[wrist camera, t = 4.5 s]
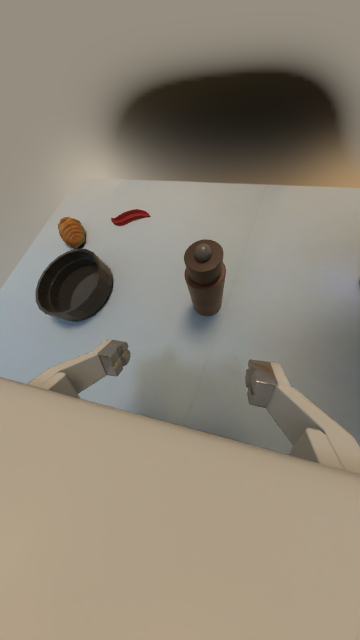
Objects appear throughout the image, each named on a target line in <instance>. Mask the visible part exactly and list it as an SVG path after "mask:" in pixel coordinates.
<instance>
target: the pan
mask: <svg viewBox="0 0 360 640" xmlns="http://www.w3.org/2000/svg"><path fill="white" fill-rule="evenodd" d="M111 288H112V274H111V271H110V269H109V268H108V266H107V265H106V264H105V263H104V262H103V261H102V260H101V259H100V258H99V257H98V256H96V255H95V254H94V253H93V252H91V251H89V250H87V249H75V250H71V251H68V252H66V253H64V254H62V255H60V256H59V257H57V258H56V259H55V260H54V261H53V262H51V263H50V264H49V266H48V267H47V268H46V269H45V271H44V272H43V274H42V275H41V277H40V279H39V281H38V284H37V288H36V302H37V305H38V307H39V309H40V310H42V311H43V312H44V313H45V314H48V315H51V316H54V317H57V318H61V319H64V320H68V321H78V320H83V319H85V318H87V317H89V316H91V315H93V314H94V313H95V312H96V311H97V310H98V309H100V308H101V307H102V305H103V304H104V302H105V301H106V300H107V298H108V296H109V294H110V291H111Z"/></svg>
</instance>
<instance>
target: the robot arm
mask: <svg viewBox="0 0 360 640" xmlns="http://www.w3.org/2000/svg"><path fill="white" fill-rule="evenodd" d="M127 348H128V344H127V343H126V342H122V341H116V340H109V339H108V340H105V341H104V342H103V343H102V344H100V345H99V346H98V347H97V348H96V349H94V350H93V351H92V352H91V353H86V354H84V355H81V356H79V357H76V358H74V359H71V360H69V361H66V362H64V363H61V364H59V365H56V366H53V367H51V368H48V369H47V370H46V371H44V372H43V373H41V374H40V375H39V376H37V377H36V378H35V379H33V380H32V381H30V382H29V383H28V384H24V383H21V382H17V381H13V380H9V379H6V378H2V377H0V640H360V446H359V444H358V443H357V441H356V440H355V438H354V437H353V436H352V435H351V434H349V433H348V432H347V431H346V430H345V429H343V428H342V427H341V426H340V425H339V424H337V423H336V422H335V421H334V420H333V419H331V418H330V417H329V416H328V415H326V414H325V413H324V412H323V411H322V410H320V409H319V408H318V407H317V406H316V405H314V404H313V403H312V402H311V401H310V400H308V399H307V398H306V397H305V396H304V395H302V394H301V393H300V392H299V391H297V390H296V389H295V388H291V385H290V383H289V381H288V379H287V377H286V375H285V373H284V371H283V369H282V366H281V364H280V363H275V362H266V361H258V360H251V359H250V360H249V362H248V368H249V369H247V370H246V376H245V382H246V387H247V388H248V392H247V395H248V401H249V404H251V405H255V406H259V407H263V408H266V409H267V411H268V412H269V414H270V415H271V416H272V418H273V419H274V420H275V422H276V423H277V424H278V426H279V427H280V428H281V430H282V431H283V432H284V434H285V435H286V436H287V438H288V439H289V440H290V442H291V443H292V444H293V446H294V447H293V448H292V450H291V451H290V453H289V454H288V455H286V454H283V453H279V452H275V451H272V450H268V449H264V448H261V447H257V446H253V445H250V444H246V443H242V442H238V441H235V440H231V439H227V438H224V437H220V436H216V435H213V434H209V433H205V432H201V431H198V430H194V429H190V428H187V427H183V426H179V425H176V424H172V423H168V422H165V421H161V420H157V419H153V418H150V417H146V416H142V415H139V414H135V413H131V412H127V411H124V410H120V409H116V408H113V407H109V406H105V405H102V404H98V403H94V402H90V401H87V400H83V399H80V397H79V395H78V393H80V392H81V391H83V390H84V389H86V388H88V387H89V386H91V385H92V384H94V383H95V382H97V381H98V380H100V379H102V378H103V377H105V376H106V375H111V376H118V375H119V374H120V372H121V371H122V370H123V366H125V365H127V363H128V362H129V360H130V351H129V350H128V349H127Z"/></svg>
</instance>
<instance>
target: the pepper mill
mask: <svg viewBox="0 0 360 640" xmlns="http://www.w3.org/2000/svg"><path fill="white" fill-rule="evenodd" d="M184 261H185V265H186V269H185V280H186V283H187V286H188V289H189V292H190V296H191V299H192V302H193V305H194V308H195V310H196V311H197V312H198V313H199V314H200V315H203V316H211V315H214V314H215V313H217V312H218V311H219V309H220V307H221V303H222V296H223V289H224V282H225V275H226V268H225V265H224V263H223V249H222V247H221V246H220V245H219V244H218V243H217V242H215V241H212V240H200V241H197V242H195V243H193V244H192V245H191V246H189V248H188V249H187V250H186V252H185V255H184Z"/></svg>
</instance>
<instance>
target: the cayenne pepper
mask: <svg viewBox="0 0 360 640" xmlns="http://www.w3.org/2000/svg"><path fill="white" fill-rule="evenodd" d="M143 217H150V215H149V214H148V213H147V212H146V211H143V210H138V209H135V210H130V211H127V212H125V213H123V214H121V215H119V216H118V217H116V218H111V220H112V222H113V223H114V224H116V225H119V226H121V225H125V224H127V223H129V222H131V221H133V220H136V219H139V218H143Z"/></svg>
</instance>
